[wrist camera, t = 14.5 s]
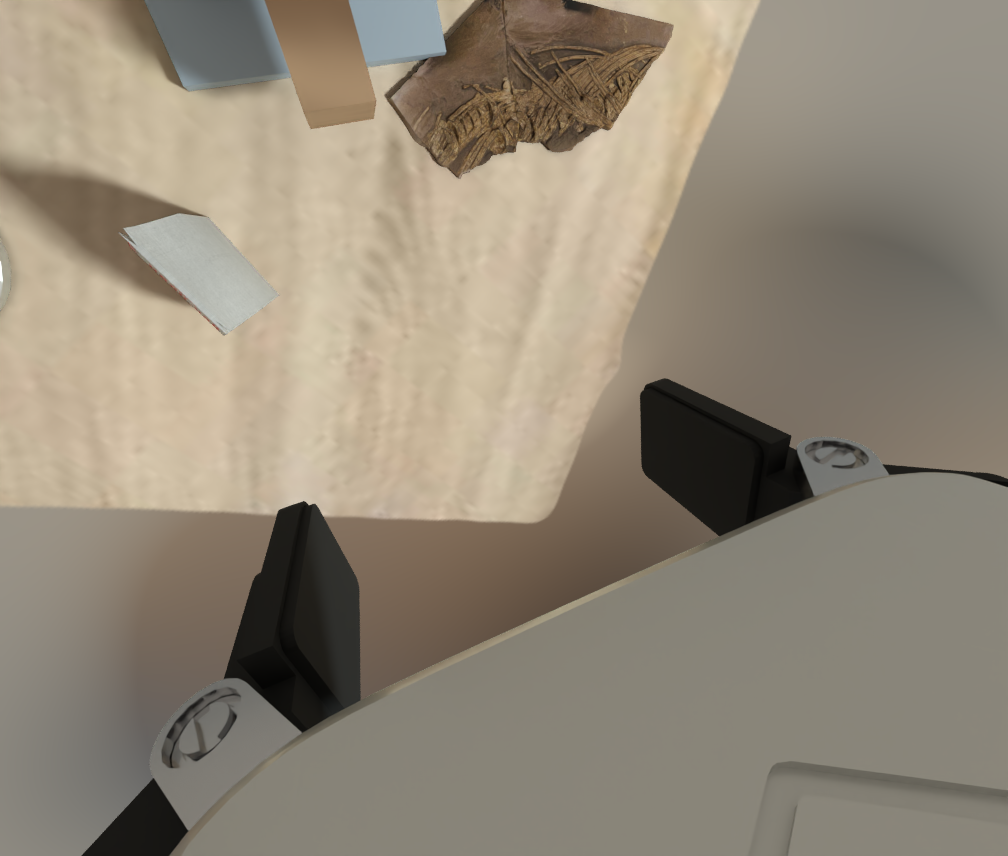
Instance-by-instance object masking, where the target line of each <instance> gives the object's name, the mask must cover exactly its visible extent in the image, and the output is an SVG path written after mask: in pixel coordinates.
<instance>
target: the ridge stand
mask: <svg viewBox="0 0 1008 856" xmlns="http://www.w3.org/2000/svg"><path fill="white" fill-rule="evenodd" d="M144 1H145V3H146V6H147V8H148V10H149V12H150V14H151V17H152V19H153V21H154V23H155V25H156V27H157V30H158V32H159V34H160V36H161V38H162V41H163V43H164V45H165V47H166V49H167V52H168V54H169V56H170V58H171V60H172V63H173V65H174V67H175V69H176V71H177V74H178V76H179V78H180V80H181V82H182V85H183V87H185V88H186V89H187V90H188V91H194V90H201V89H209V88H216V87H224V86H231V85H239V84H246V83H254V82H261V81H268V80H276V79H283V78H291V75H290V72H289V69H288V66H287V63H286V60H285V58H284V55H283V52H282V49H281V46H280V43H279V40H278V38H277V35H276V32H275V29H274V26H273V23H272V21H271V18H270V15H269V12H268V9H267V6H266V3H265V1H264V0H144ZM349 4H350V7H351V11H352V15H353V18H354V22H355V26H356V29H357V33H358V36H359V40H360V44H361V47H362V51H363V55H364V58H365V62H366V65H367V67H372V66H380V65H387V64H395V63H402V62H410V61H417V60H424V59H429V58H430V57H435V56H442V55H445V54H446V47H445V42H444V37H443V31H442V26H441V21H440V16H439V11H438V6H437V1H436V0H349Z"/></svg>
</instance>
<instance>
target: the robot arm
mask: <svg viewBox="0 0 1008 856" xmlns="http://www.w3.org/2000/svg"><path fill="white" fill-rule="evenodd" d="M10 290H11V268H10V263H9V259H8V254H7V252H6V249H5V247H4V245H3V243H2V241H1V238H0V311H1V309H2V308H3V307H4V305H5V304H6V301H7V298H8V295H9V292H10ZM640 411H641V457H642V459H641V460H642V469H643V471H644V473H645V475H646V476H647V477H648V478H649V479H651V480H652V481H653V482H654V483H656V484H657V485H658V486H659V487H660V488H662V489H663V490H664V491H665V492H666V493H668V494H669V495H670V496H671V497H672V498H674V499H675V500H676V501H677V502H679V503H680V504H681V505H682V506H683V507H685V508H686V509H687V510H688V511H690V512H691V513H692V514H693V515H694V516H695V517H697V518H698V519H699V520H700V521H702V522H703V523H704V524H705V525H706V526H708V527H709V528H710V529H711V530H712V531H714V532H715V533H716V534H717V535H718V536H719V537H717V538H715V539H713V540H710V541H708V542H706V543H704V544H701V545H699V546H697V547H695V548H692V549H690V550H688V551H685V552H683V553H681V554H679V555H676V556H674V557H672V558H670V559H667V560H665V561H663V562H661V563H659V564H656V565H654V566H652V567H649V568H647V569H645V570H643V571H640V572H638V573H636V574H634V575H631V576H629V577H627V578H625V579H623V580H620V581H618V582H616V583H614V584H612V585H609V586H607V587H605V588H602V589H600V590H598V591H596V592H594V593H592V594H589V595H587V596H585V597H582V598H580V599H578V600H576V601H573V602H571V603H569V604H567V605H565V606H563V607H560V608H558V609H556V610H554V611H551V612H549V613H547V614H545V615H542V616H540V617H538V618H536V619H534V620H532V621H529V622H527V623H525V624H523V625H521V626H519V627H516V628H514V629H512V630H509V631H507V632H505V633H503V634H501V635H498V636H496V637H494V638H492V639H490V640H488V641H485V642H483V643H481V644H479V645H476V646H474V647H472V648H470V649H468V650H466V651H463V652H461V653H459V654H457V655H454V656H452V657H450V658H448V659H446V660H444V661H442V662H440V663H437V664H435V665H433V666H431V667H429V668H427V669H425V670H423V671H421V672H418V673H416V674H414V675H412V676H410V677H408V678H406V679H404V680H401V681H399V682H397V683H395V684H393V685H391V686H389V687H387V688H385V689H383V690H380V691H378V692H376V693H374V694H372V695H370V696H368V697H366V698H364V699H362V700H360V612H359V611H360V610H359V585H358V581H357V578H356V576H355V574H354V572H353V570H352V568H351V567H350V565H349V563H348V561H347V559H346V558H345V556H344V554H343V552H342V550H341V548H340V546H339V545H338V543H337V541H336V539H335V537H334V536H333V534H332V532H331V530H330V529H329V527H328V525H327V523H326V521H325V519H324V517H323V516H322V514H321V512H320V510H319V508H318V507H317V505H316V504H312V505H308V504H307V503H306V502H304V501H303V502H300V503H297V504H294V505H291V506H288V507H285V508H282V509H280V510H279V511H278V514H277V517H276V521H275V524H274V528H273V532H272V535H271V539H270V542H269V546H268V549H267V553H266V556H265V560H264V564H263V568H262V571H261V573H259V574H258V575H256V576H255V578H254V580H253V583H252V586H251V589H250V592H249V596H248V599H247V603H246V606H245V610H244V613H243V616H242V620H241V624H240V626H239V629H238V633H237V637H236V640H235V643H234V646H233V650H232V653H231V656H230V660H229V663H228V666H227V670H226V673H225V677H224V680H221V681H218V682H215V683H212V684H211V685H209V686H207V687H205V688H204V689H202V690H200V691H199V692H197V693H196V694H195V695H194V696H192V697H191V698H190V699H189V700H187V701H186V702H185V703H184V704H183V705H182V706H181V707H180V708H179V709H178V710H177V711H176V712H175V713H174V715H173V716H172V717H171V718H170V719H169V721H168V722H167V723H166V725H165V726H164V728H163V729H162V731H161V732H160V733H159V736H158V738H157V740H156V742H155V744H154V746H153V748H152V752H151V757H150V763H149V765H150V769H151V773H152V776H153V777H154V778H153V779H152V780H151V781H150V783H149V784H148V785H147V786H146V787H145V788H144V789H143V790H142V791H141V792H140V793H139V794H138V796H136V798H135V799H134V800H133V801H132V802H131V803H130V804H129V805H128V806H127V807H126V808H125V809H124V811H123V812H122V813H121V814H120V815H119V816H118V817H117V818H116V819H115V820H114V821H113V822H112V824H111V825H110V826H109V827H108V828H107V829H106V830H105V831H104V832H103V833H102V834H101V835H100V836H99V838H98V839H97V840H96V841H95V842H94V843H93V844H92V845H91V846H90V847H89V848H88V849H87V850H86V851H85V853H84V854H83V855H82V856H1008V479H1006V478H1004V477H1001V476H998V475H994V474H989V473H973V472H965V471H953V470H941V469H929V468H918V467H907V466H895V465H883V464H882V463H881V462H880V460H879V458H878V457H877V456H876V455H875V454H874V453H873V452H872V451H871V450H870V449H868V448H867V447H865V446H863V445H861V444H858V443H856V442H853V441H850V440H845V439H841V438H833V437H815V438H810V439H806V440H804V441H803V442H801V443H799V445H798V446H797V449H796V450H795V449H793V448H791V447H789V445H790V440H791V435H788V434H786V433H784V432H782V431H780V430H777V429H776V428H773V427H771V426H769V425H767V424H765V423H762V422H760V421H758V420H756V419H754V418H752V417H749V416H747V415H745V414H743V413H741V412H738V411H736V410H734V409H732V408H730V407H728V406H725V405H723V404H721V403H719V402H717V401H715V400H712V399H710V398H708V397H706V396H704V395H701V394H699V393H697V392H695V391H693V390H691V389H688V388H686V387H684V386H682V385H680V384H678V383H675V382H673V381H671V380H669V379H661V380H658V381H655V382H652V383H649V384H647V385H646V386H645V388H644V391H642V392H641V395H640Z"/></svg>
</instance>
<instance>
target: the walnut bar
mask: <svg viewBox="0 0 1008 856" xmlns="http://www.w3.org/2000/svg"><path fill="white" fill-rule="evenodd" d="M264 1H265V3H266V6H267V9H268V12H269V15H270V18H271V21H272V23H273V26H274V29H275V32H276V35H277V38H278V40H279V43H280V46H281V49H282V52H283V55H284V58H285V60H286V63H287V66H288V69H289V72H290V75H291V77H292V80H293V83H294V86H295V89H296V92H297V95H298V97H299V100H300V103H301V106H302V109H303V112H304V114H305V116H306V119H307V121H308V124H309V126H310V128H311V129H314V128H320V127H327V126H333V125H339V124H345V123H351V122H357V121H363V120H369V119H374V112H375V106H376V98H375V94H374V91H373V87H372V84H371V80H370V76H369V73H368V69H367V65H366V62H365V58H364V55H363V51H362V47H361V44H360V40H359V36H358V33H357V29H356V26H355V22H354V18H353V15H352V11H351V7H350V4H349V0H264Z"/></svg>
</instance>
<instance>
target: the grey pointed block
mask: <svg viewBox="0 0 1008 856" xmlns="http://www.w3.org/2000/svg"><path fill="white" fill-rule="evenodd" d="M123 229H124V230H125V231H126V233H127V234H128V235H129V236H130V237H129V236H127V235H124V234H122V233H119V232H118V233H119V234H120V235H121V236H122V237H123V238H125V239H126V240H127V241H128V244H129V246H130V248H131V249H132V250H133V251H134V252H135V253H136V254H137V255H139V256H140V257H141V258H142V259H143V260H144V261H145V262H146V263H147V264H148V265H149V266H150V267H151V268H152V269H153V270H154V271H156V272H157V273H158V274H159V275H160V276H161V277H162V278H163V279H164V280H165V281H166V282H167V283H168V284H169V285H170V286H171V287H173V288H174V289H175V290H176V291H177V292H178V293H179V294H180V295H181V296H182V297H183V298H184V299H185V300H186V301H187V302H189V303H190V304H191V305H192V306H193V307H194V308H195V309H196V310H197V311H198V312H199V313H200V314H201V315H202V316H203V317H204V318H206V319H207V320H208V321H209V322H210V323H211V324H212V325H213V326H214V327H215V328H216V329H217V330H218V331H219V332H220V333H222V334H223V335H226V334H228V332H230V331H232V330H233V329H235V328H236V327H237V326H239V325H240V324H241V323H243V322H244V321H246V320H247V319H248V318H250V317H251V316H252V315H254V314H255V313H256V312H258V311H259V310H261V309H262V308H263V307H265V306H266V305H267V304H269V303H270V302H271V301H273V300H274V299H275V298H276V297H278V296H279V294H278V293H277V292H276V291H275V290H274V288H273V287H272V286H271V285H270V284H269V283H268V282H267V281H266V280H265V279H264V277H263V276H262V275H261V274H260V273H259V272H258V271H257V270H256V269H255V268H254V267H253V265H252V264H251V263H250V262H249V261H248V260H247V259H246V258H245V257H244V256H243V255H242V253H241V252H240V251H239V250H238V249H237V248H236V247H235V246H234V245H233V244H232V242H231V241H230V240H229V239H228V238H227V237H226V236H225V235H224V234H223V233H222V232H221V230H220V229H219V228H218V227H217V226H216V225H215V224H214V223H213V222H212V221H211V219H210V218H209V217H203V216H195V215H188V214H180V213H178V214H175V215H171V216H168V217H165V218H161V219H158V220H155V221H151V222H148V223H144V224H141V225H137V226H133V227H127V228H123Z"/></svg>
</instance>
